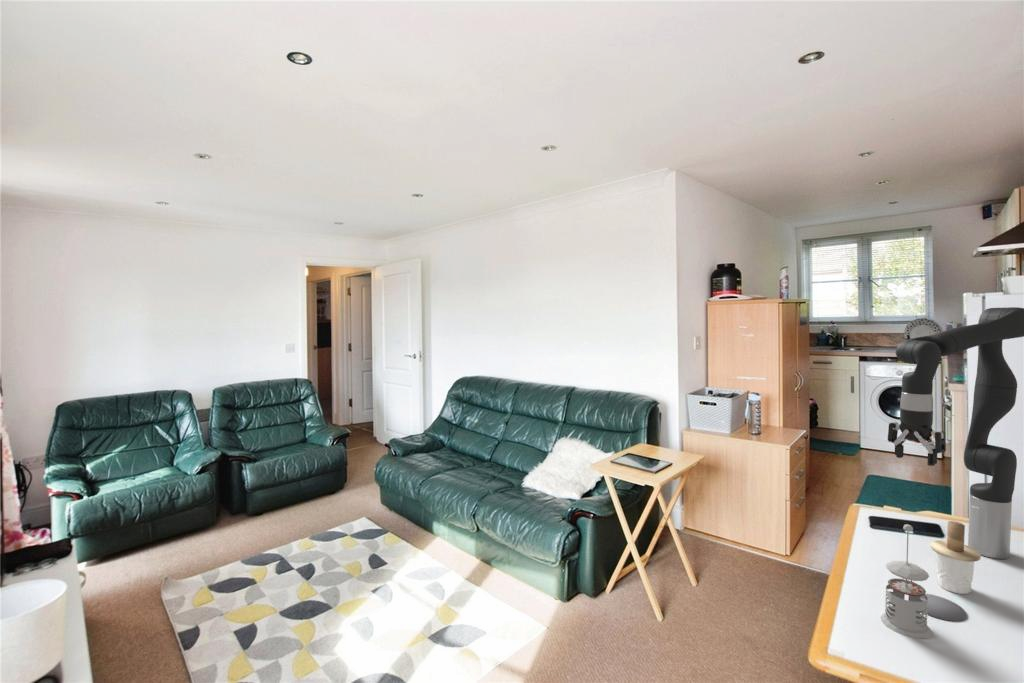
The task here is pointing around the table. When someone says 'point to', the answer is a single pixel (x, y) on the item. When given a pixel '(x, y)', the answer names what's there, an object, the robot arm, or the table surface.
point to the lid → (956, 544)
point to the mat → (944, 608)
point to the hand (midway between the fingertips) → (914, 461)
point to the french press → (906, 612)
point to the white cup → (954, 574)
